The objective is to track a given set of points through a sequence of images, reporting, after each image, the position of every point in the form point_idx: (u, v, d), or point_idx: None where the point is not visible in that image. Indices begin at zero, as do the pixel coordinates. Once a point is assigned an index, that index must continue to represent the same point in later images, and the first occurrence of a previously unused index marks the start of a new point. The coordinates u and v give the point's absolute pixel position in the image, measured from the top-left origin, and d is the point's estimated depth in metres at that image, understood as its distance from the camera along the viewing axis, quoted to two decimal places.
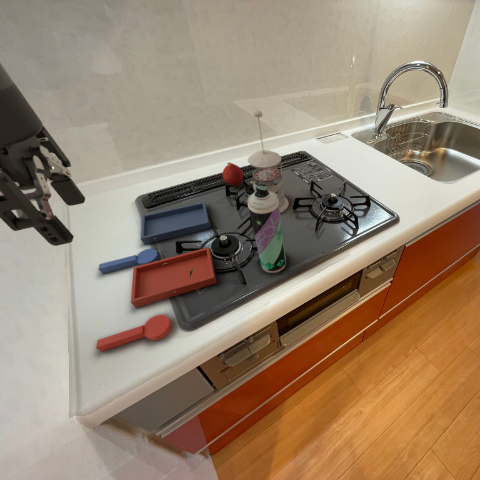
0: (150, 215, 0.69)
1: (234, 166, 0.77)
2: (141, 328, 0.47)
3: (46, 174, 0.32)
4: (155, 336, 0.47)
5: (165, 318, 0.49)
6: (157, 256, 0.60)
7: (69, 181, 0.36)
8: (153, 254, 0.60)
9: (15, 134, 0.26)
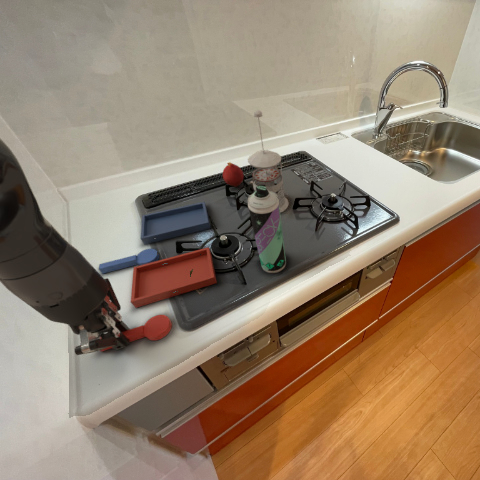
0: (150, 215, 0.69)
1: (234, 166, 0.77)
2: (141, 328, 0.47)
3: None
4: (155, 336, 0.47)
5: (165, 318, 0.49)
6: (157, 256, 0.60)
7: (120, 324, 0.46)
8: (153, 254, 0.60)
9: (94, 305, 0.37)
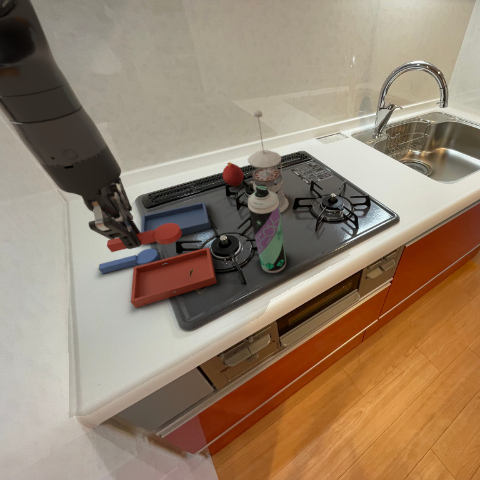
0: (150, 215, 0.69)
1: (234, 166, 0.77)
2: (151, 232, 0.47)
3: None
4: (165, 239, 0.47)
5: (175, 225, 0.49)
6: (157, 256, 0.60)
7: (132, 223, 0.45)
8: (153, 254, 0.60)
9: (107, 180, 0.36)
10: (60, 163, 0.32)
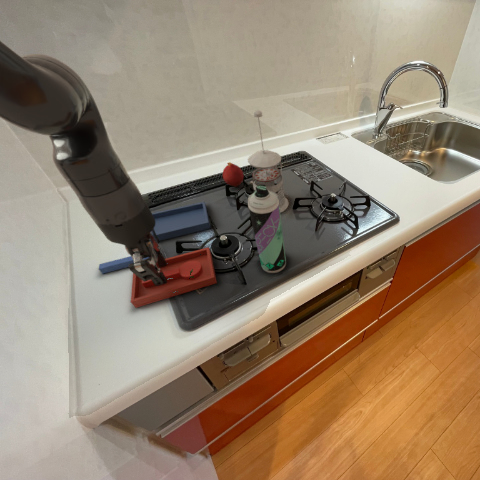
0: None
1: (234, 166, 0.77)
2: (178, 269, 0.56)
3: None
4: (190, 275, 0.56)
5: (197, 263, 0.58)
6: None
7: (160, 254, 0.54)
8: None
9: (146, 231, 0.45)
10: (112, 223, 0.41)
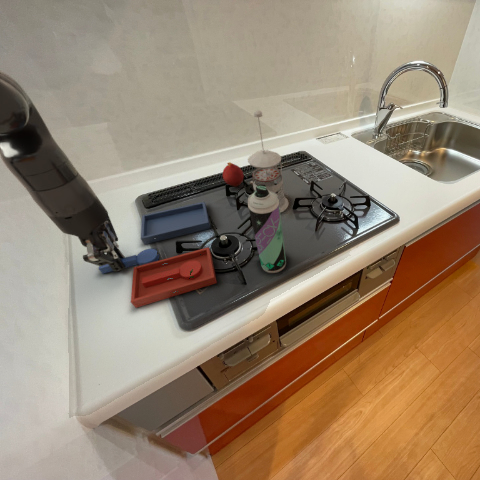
0: (150, 215, 0.69)
1: (234, 166, 0.77)
2: (178, 269, 0.56)
3: None
4: (190, 275, 0.56)
5: (197, 263, 0.58)
6: (157, 256, 0.60)
7: (118, 251, 0.57)
8: (153, 254, 0.60)
9: (97, 224, 0.49)
10: (62, 215, 0.44)
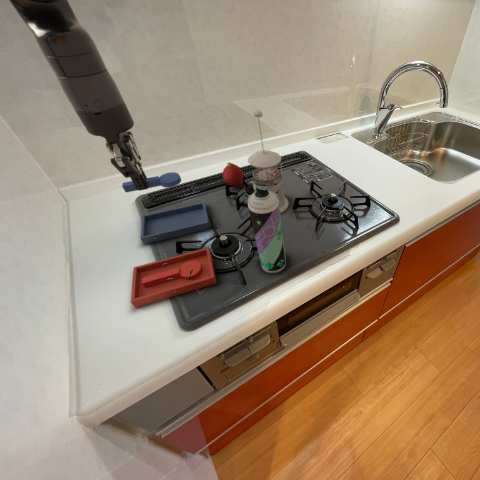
0: (150, 215, 0.69)
1: (234, 166, 0.77)
2: (178, 269, 0.56)
3: None
4: (190, 275, 0.56)
5: (197, 263, 0.58)
6: (179, 178, 0.60)
7: (141, 169, 0.57)
8: (175, 176, 0.60)
9: (124, 127, 0.48)
10: (91, 110, 0.44)
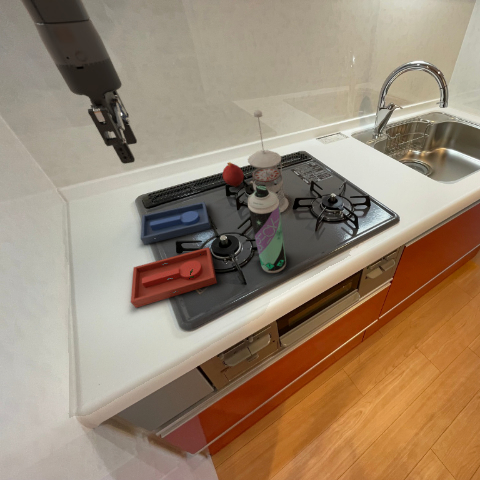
0: (150, 215, 0.69)
1: (234, 166, 0.77)
2: (178, 269, 0.56)
3: None
4: (190, 275, 0.56)
5: (197, 263, 0.58)
6: (198, 217, 0.69)
7: (128, 126, 0.55)
8: (194, 215, 0.69)
9: (110, 86, 0.45)
10: (73, 63, 0.41)
